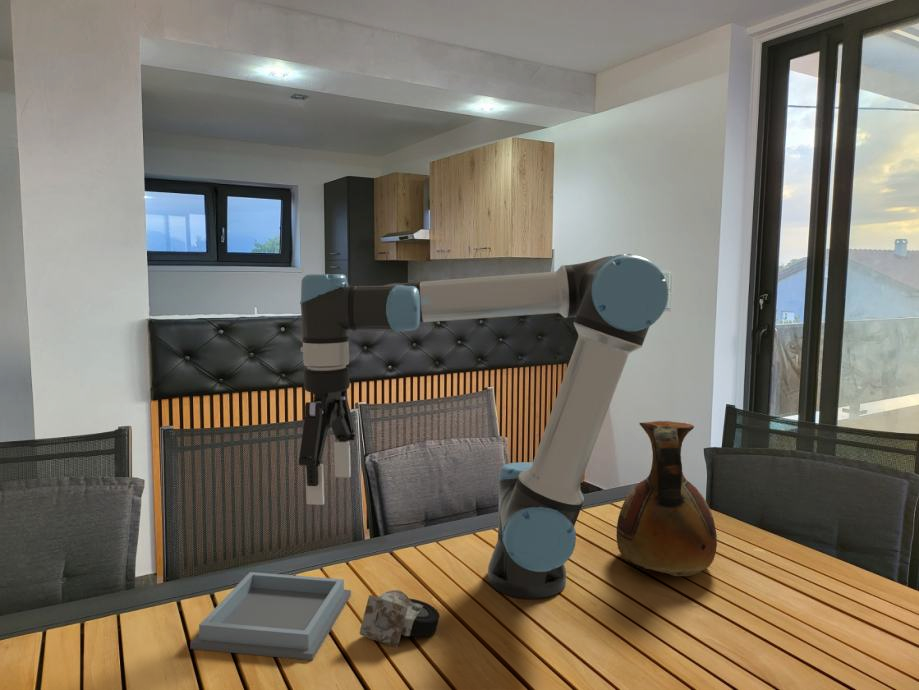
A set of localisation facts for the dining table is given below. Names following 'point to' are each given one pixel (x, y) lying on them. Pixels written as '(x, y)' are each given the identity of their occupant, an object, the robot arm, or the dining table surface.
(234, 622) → the tray
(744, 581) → the dining table surface
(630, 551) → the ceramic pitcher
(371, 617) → the caster wheel
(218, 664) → the dining table surface
